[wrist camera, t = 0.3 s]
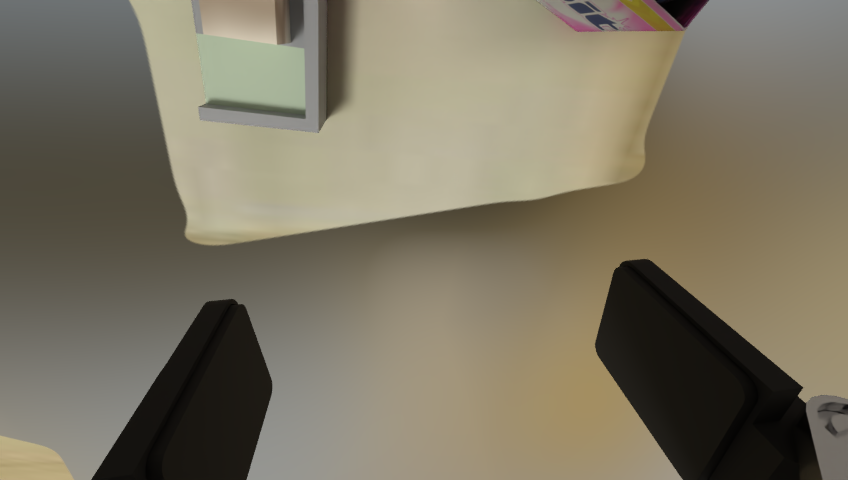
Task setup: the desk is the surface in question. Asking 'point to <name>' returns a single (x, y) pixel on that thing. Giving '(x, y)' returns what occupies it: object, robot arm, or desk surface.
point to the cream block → (247, 20)
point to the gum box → (625, 14)
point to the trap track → (268, 74)
